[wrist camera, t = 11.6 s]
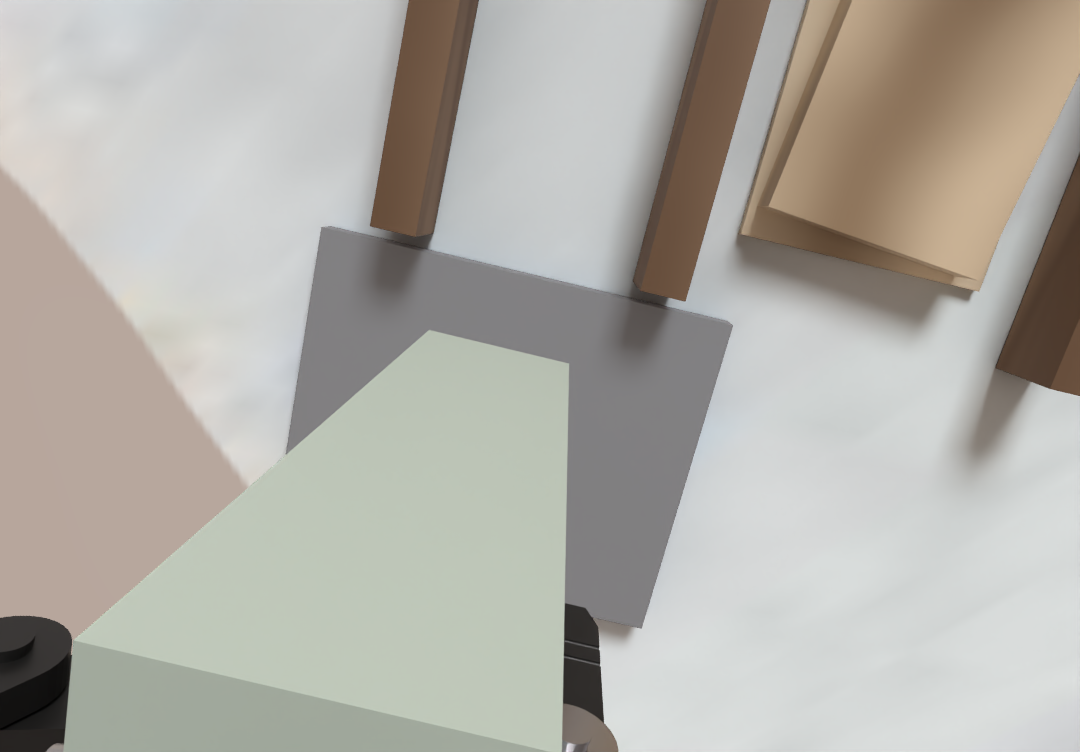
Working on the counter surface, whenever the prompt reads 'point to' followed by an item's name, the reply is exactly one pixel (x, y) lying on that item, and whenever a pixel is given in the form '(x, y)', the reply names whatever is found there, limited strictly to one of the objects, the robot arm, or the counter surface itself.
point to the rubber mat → (551, 332)
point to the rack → (683, 172)
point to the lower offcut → (755, 218)
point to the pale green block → (362, 583)
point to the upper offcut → (926, 123)
